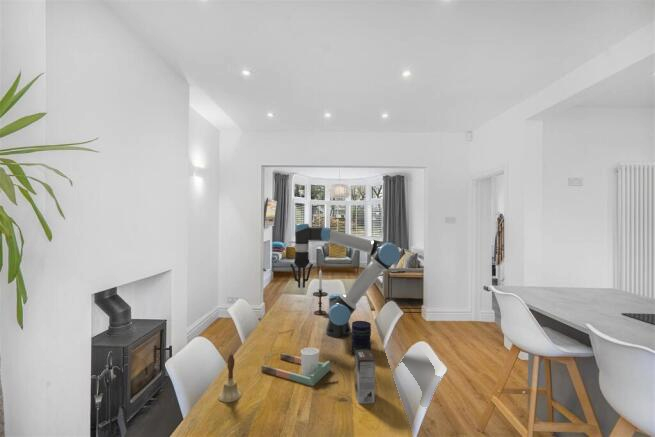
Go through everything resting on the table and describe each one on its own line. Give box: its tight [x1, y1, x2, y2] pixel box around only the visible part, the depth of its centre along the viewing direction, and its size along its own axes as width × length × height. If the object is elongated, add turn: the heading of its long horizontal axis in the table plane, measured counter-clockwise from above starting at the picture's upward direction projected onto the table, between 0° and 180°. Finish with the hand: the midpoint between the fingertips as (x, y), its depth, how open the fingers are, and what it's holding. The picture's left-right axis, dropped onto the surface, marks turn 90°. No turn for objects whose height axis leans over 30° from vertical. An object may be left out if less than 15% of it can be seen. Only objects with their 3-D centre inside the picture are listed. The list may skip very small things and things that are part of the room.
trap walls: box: [275, 355, 301, 380], centre depth 139 cm, size 7×15×2 cm, turn 153°
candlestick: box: [312, 264, 329, 316], centre depth 226 cm, size 11×11×35 cm
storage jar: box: [351, 320, 372, 357], centre depth 158 cm, size 10×10×15 cm
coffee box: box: [354, 350, 376, 405], centre depth 119 cm, size 9×6×16 cm
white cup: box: [300, 347, 320, 377], centre depth 136 cm, size 8×8×10 cm
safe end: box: [289, 360, 331, 387], centre depth 135 cm, size 11×15×4 cm
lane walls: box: [261, 352, 296, 376], centre depth 143 cm, size 8×15×2 cm, turn 153°
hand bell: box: [218, 353, 242, 403], centre depth 118 cm, size 8×8×16 cm
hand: (301, 293), depth 174 cm, fingers closed
